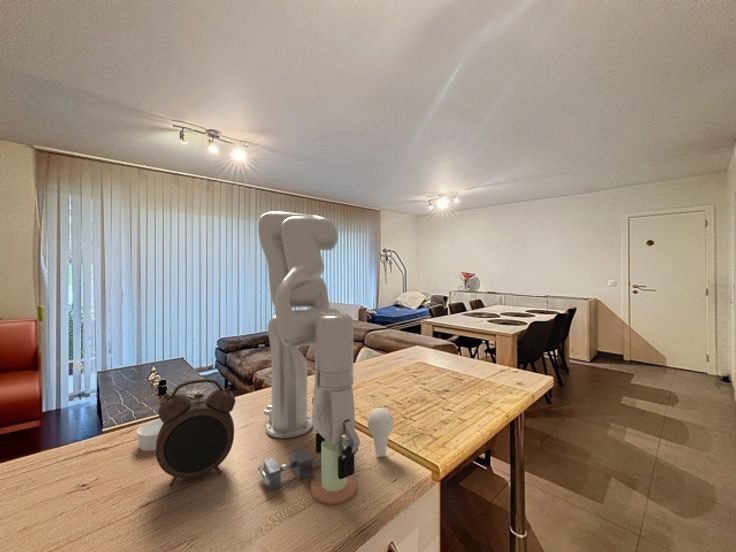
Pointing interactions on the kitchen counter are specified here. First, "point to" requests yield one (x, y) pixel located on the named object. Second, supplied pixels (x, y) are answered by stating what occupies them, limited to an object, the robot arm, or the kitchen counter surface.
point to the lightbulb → (380, 429)
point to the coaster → (333, 497)
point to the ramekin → (149, 435)
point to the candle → (331, 468)
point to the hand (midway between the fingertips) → (333, 462)
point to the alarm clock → (195, 432)
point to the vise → (288, 467)
